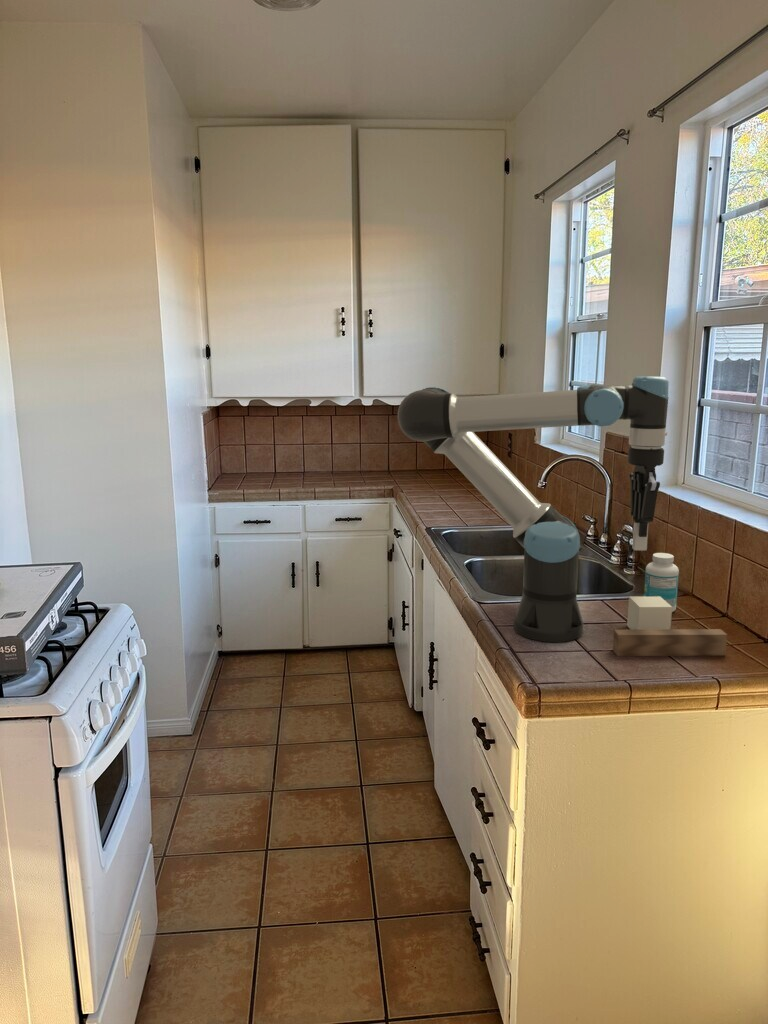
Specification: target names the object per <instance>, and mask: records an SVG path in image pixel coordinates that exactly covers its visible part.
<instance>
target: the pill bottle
mask: <svg viewBox="0 0 768 1024" xmlns="http://www.w3.org/2000/svg"><path fill="white" fill-rule="evenodd" d="M674 558H675V556H674V555H673V554H671V553H667V552H654V553H653V554H652V561H651V562H649V563H648V564H647V565H646V566H645V574H644V591H643V597H657V596H660V597H661V598H663V599H664V600H665V601H666V602H667V603H668V604H669V605H671V606H672V613H673V612H675V611H676V609H677V601H678V600H677V599H678V590H679V588H678V587H679V574H680V569H679V567H678V566H677V565H676V564H674V560H675V559H674Z"/></svg>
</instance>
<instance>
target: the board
mask: <svg viewBox="0 0 768 1024" xmlns="http://www.w3.org/2000/svg"><path fill="white" fill-rule="evenodd" d="M612 641H613V642H612V652H614V654H615V655H616V656H617V657H630V656H631V657H636V656H637V657H638V656H641V657H644V656H645V657H653V656H655V657H656V656H657V657H659V656H661V657H662V656H663V657H665V656H666V657H667V656H669V657H670V656H672V657H673V656H675V657H677V656H678V657H679V656H691V657H692V656H726V651H727V643H728V642H727V641H728V634H727V632H725V631H724V630H723V629H721V628H700V629H699V628H691V629H690V628H687V629H685V628H683V629H680V628H679V629H677V628H675V629H673V628H672V629H638V630H631V629H614V630H613V640H612Z"/></svg>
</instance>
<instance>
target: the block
mask: <svg viewBox="0 0 768 1024" xmlns="http://www.w3.org/2000/svg"><path fill="white" fill-rule="evenodd" d="M627 608H628V609H627V621H626V622H627V623H626V624H627V627H628V628H629V630H638V629H671V626H672V615H673V612H672V606H671V605H669V604H668V603H667V602H666V601H665V600H664V599H663V598H661V597H660V596H657V597H644V596H628V607H627Z"/></svg>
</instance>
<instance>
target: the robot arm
mask: <svg viewBox="0 0 768 1024" xmlns="http://www.w3.org/2000/svg"><path fill="white" fill-rule="evenodd" d="M669 383H670V382H669V380H668V378H666V377H665V376H657V375H656V376H655V375H654V376H650V375H649V376H647V375H645V376H641V375H640V376H634V377H633V380H632V383H631V384H630V385H629V384H628V385H607V384H606V385H604V384H603V385H599V384H598V385H596V384H588V385H580V386H578V387H577V389H569V390H568V389H567V390H554V391H540V392H539V391H537V392H526V393H525V392H524V393H523V392H522V393H508V394H495V395H494V394H493V395H477V396H466V397H465V396H463V397H461V396H460V397H458V396H457V395H456V394H455V393H453V392H452V393H450V392H448V391H447V390H445V389H443V388H441V387H435V386H433V387H426V388H422V389H420V390H419V389H418V390H416V391H413V392H411V393H409V394H407V395H406V396H405V397H404V398H403V400H402V401H401V402H400V404H399V406H398V410H397V422H398V426H399V428H400V429H401V431H402V433H403V434H404V435H405V436H406V437H408V438H409V439H411V440H413V441H416V442H421V443H422V442H423V443H424V444H425V445H426V446H427V447H429V449H430V450H431V451H432V453H434V454H441V455H444V456H445V457H446V458H447V459H448V460H450V462H451V463H452V464H453V465H454V466H455V467H456V468H457V469H458V470H459V471H460V473H461V474H463V475H464V477H465V478H466V479H467V480H468V481H469V482H470V483H471V484H472V485H473V486H474V487H475V489H477V491H478V492H479V493H480V494H481V495H482V496H483V497H484V498H485V499H486V500H487V501H488V502H489V503H490V505H492V506H493V507H494V509H495V510H496V511H497V512H498V513H499V514H500V515H501V516H502V517H503V518H504V519H505V521H507V522H508V524H510V526H511V527H512V530H513V531H512V533H513V534H512V536H513V539H515V540H516V541H517V542H518V544H520V546H521V547H522V548H523V549H524V550H523V551H524V552H523V554H524V555H523V574H522V575H523V579H522V583H523V584H522V585H523V586H522V596H521V599H520V601H519V604H518V606H517V609H516V611H515V614H514V617H513V629H514V631H515V632H516V633H517V634H518V635H519V636H522V637H524V638H528V639H529V640H530V639H531V640H534V641H539V642H547V643H548V642H549V643H564V642H565V643H566V642H570V641H575V640H577V639H579V638H581V637H582V636H583V634H584V621H583V617H582V613H581V610H580V606H579V603H578V599H577V592H578V579H579V578H578V576H579V575H578V574H579V573H578V572H579V558H580V557H579V555H580V548H581V538H580V534H579V531H578V528H577V527H576V525H575V524H574V523H573V522H572V521H571V520H570V519H569V518H567V517H565V516H564V515H562V514H560V512H558V511H557V509H556V508H554V507H553V505H552V504H551V503H550V502H547V503H545V502H540V500H538V499H537V498H536V497H535V496H534V495H533V494H532V492H531V491H530V490H529V489H527V487H526V486H525V485H524V484H523V483H522V482H521V481H520V480H519V479H518V478H517V476H515V474H514V473H513V472H512V471H511V470H510V469H509V468H508V467H507V466H506V465H505V464H504V462H502V461H501V460H500V458H499V457H498V456H496V454H495V453H494V452H493V451H492V450H491V449H490V448H489V447H488V446H487V445H486V443H485V442H483V441H482V439H481V438H480V437H479V436H478V435H477V434H476V433H475V432H488V431H490V432H491V431H507V430H508V431H509V430H511V431H512V430H526V429H541V428H543V429H545V428H559V427H560V428H562V427H563V428H564V427H576V426H581V427H582V426H583V427H584V426H598V427H607V426H611V425H613V424H615V423H616V422H617V421H618V420H625V421H627V420H628V421H629V420H630V425H629V432H628V433H629V434H628V436H629V437H628V445H630V447H629V448H628V451H627V463H628V464H630V465H632V466H634V471H633V473H631V472H630V473H629V475H628V477H629V482H630V515H631V516H632V519H633V528H632V529H633V531H632V532H633V533H632V543H631V544H632V545H631V547H632V548H631V549H632V550H634V551H648V550H647V549H648V538H649V536H648V535H649V524H650V523H652V522H654V516H655V511H656V504H657V500H658V499H657V498H658V492H659V489H660V486H661V482H660V481H657V473H656V467H660V466H662V465H663V464H664V459H665V458H664V457H665V449H664V448H663V447H664V446H665V443H666V442H665V441H666V440H665V439H666V437H667V436H668V432H667V431H666V430H667V418H668V417H667V416H668V406H669V399H670V398H669V385H670V384H669Z"/></svg>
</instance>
